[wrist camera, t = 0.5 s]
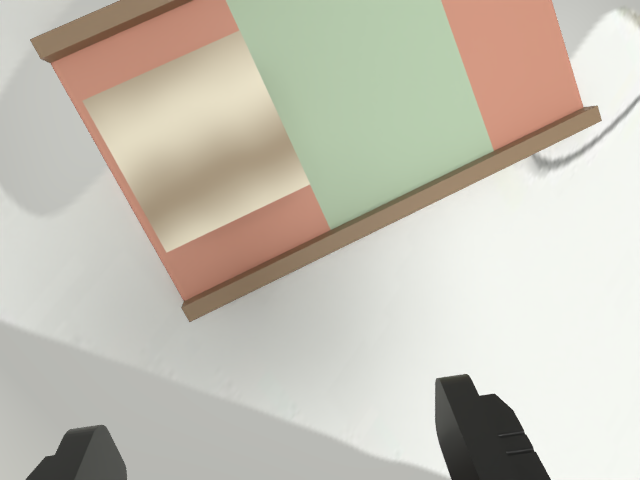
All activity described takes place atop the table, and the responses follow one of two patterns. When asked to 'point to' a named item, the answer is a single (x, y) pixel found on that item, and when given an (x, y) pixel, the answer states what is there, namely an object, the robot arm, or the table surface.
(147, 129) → the block
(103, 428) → the robot arm
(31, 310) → the table surface
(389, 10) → the tray
